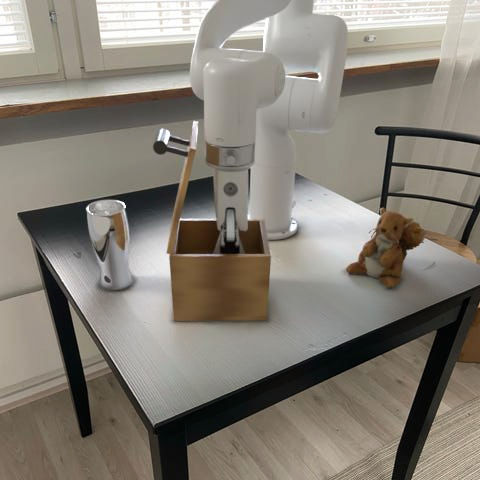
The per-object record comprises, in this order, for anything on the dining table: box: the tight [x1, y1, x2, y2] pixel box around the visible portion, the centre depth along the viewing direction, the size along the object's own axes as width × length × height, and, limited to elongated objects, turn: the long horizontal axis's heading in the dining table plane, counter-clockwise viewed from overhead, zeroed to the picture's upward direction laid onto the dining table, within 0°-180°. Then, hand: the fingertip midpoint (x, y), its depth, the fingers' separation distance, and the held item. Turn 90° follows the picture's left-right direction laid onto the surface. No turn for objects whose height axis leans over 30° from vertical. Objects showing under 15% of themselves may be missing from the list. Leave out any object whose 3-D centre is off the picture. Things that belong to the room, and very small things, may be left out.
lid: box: [152, 120, 200, 255], centre depth 77 cm, size 17×14×6 cm
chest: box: [168, 218, 272, 322], centre depth 86 cm, size 16×14×12 cm
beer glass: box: [85, 199, 134, 291], centre depth 89 cm, size 7×7×15 cm
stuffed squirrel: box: [345, 207, 426, 289], centre depth 95 cm, size 10×14×13 cm
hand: (229, 257), depth 85 cm, fingers closed on flask, 4 cm apart
